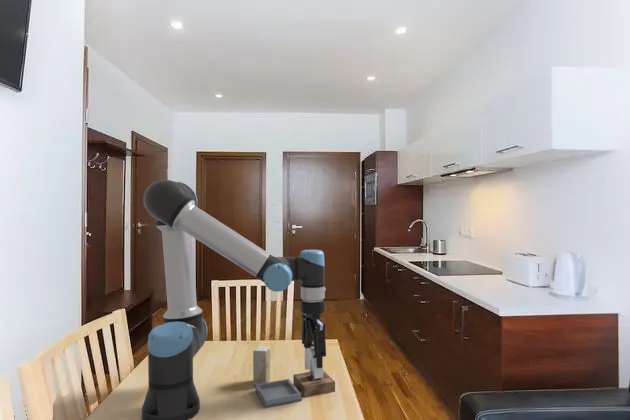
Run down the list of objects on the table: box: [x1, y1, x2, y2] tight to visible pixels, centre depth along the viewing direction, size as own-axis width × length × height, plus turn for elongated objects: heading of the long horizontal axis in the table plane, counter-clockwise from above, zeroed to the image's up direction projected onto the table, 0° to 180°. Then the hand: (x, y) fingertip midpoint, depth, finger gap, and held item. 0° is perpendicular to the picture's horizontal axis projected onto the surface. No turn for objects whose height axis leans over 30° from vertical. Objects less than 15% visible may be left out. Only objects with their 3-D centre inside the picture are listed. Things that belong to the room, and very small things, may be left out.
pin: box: [309, 347, 319, 381], centre depth 128 cm, size 3×3×12 cm
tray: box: [255, 378, 302, 408], centre depth 122 cm, size 11×12×2 cm
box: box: [252, 345, 271, 386], centre depth 132 cm, size 5×4×11 cm
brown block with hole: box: [292, 370, 336, 398], centre depth 128 cm, size 10×10×3 cm
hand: (313, 372), depth 128 cm, fingers open, 7 cm apart
